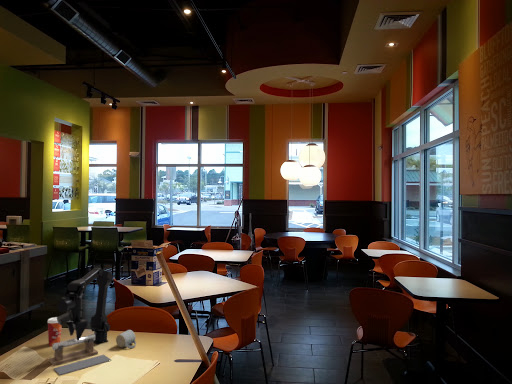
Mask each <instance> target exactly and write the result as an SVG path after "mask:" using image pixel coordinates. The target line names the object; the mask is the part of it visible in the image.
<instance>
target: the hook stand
mask: <svg viewBox="0 0 512 384" xmlns="http://www.w3.org/2000/svg"><path fill="white" fill-rule="evenodd" d="M98 355H99V351H98V350H97V349H95V348H94V338H90V339H89V342H85V343H84V348H83V349H80V350H79V349H78V350H76V351H72V352H69V353H64V348H63V345H60V346H58V349H56V350H54V355H53V356H52V357H49V359H48V360H49V362H50V363H51V365H53V366H54V367H55V366H56V367H58V366H62V365H65V364H69V363H73V362H75V361H80V360H82V359H83V360H84V359H85V358H86V359H87V358H89V357H90V358H91V357H93V356H94V357H95V356H98Z"/></svg>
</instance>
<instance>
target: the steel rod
mask: <svg viewBox="0 0 512 384" xmlns="http://www.w3.org/2000/svg"><path fill="white" fill-rule="evenodd" d="M90 338H94V340H95V334H94V333H93V334H89V335H85V336H81V338H80V340H77V337H76V338H72V339H68V340H63V341H60V342H58V343H54V344H53V345H52V346H51V347H52V350H53V351H55V350H56V349H58V346H60V345H63V349H64V348H68V347H72V346H77V345H80V344H83V343H84V344H85V342H89V339H90Z"/></svg>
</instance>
